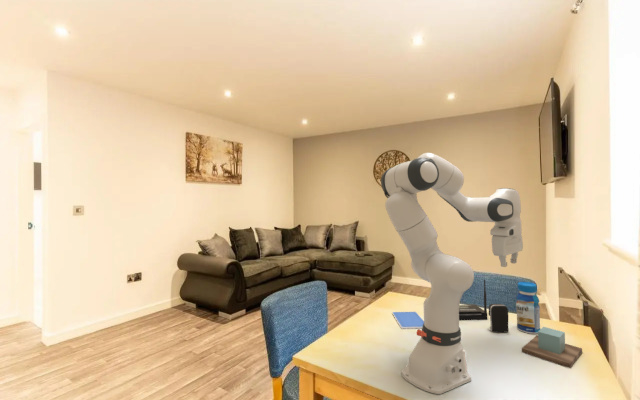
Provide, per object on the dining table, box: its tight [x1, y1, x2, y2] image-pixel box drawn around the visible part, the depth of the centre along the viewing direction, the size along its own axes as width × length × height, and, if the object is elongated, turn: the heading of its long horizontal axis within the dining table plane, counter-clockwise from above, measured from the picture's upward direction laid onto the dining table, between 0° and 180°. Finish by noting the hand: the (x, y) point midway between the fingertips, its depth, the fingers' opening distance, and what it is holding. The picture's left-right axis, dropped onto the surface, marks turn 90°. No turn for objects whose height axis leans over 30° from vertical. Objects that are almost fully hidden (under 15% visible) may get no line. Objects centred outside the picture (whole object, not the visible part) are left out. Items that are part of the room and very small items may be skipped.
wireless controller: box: [459, 279, 488, 322], centre depth 145 cm, size 20×14×17 cm
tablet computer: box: [391, 311, 424, 330], centre depth 142 cm, size 19×13×1 cm, turn 179°
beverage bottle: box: [515, 281, 541, 335], centre depth 128 cm, size 8×8×20 cm
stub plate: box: [521, 335, 583, 369], centre depth 109 cm, size 16×14×5 cm
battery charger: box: [488, 303, 509, 333], centre depth 128 cm, size 7×4×11 cm, turn 85°
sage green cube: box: [537, 326, 566, 354], centre depth 109 cm, size 6×6×6 cm
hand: (508, 264), depth 116 cm, fingers open, 8 cm apart
